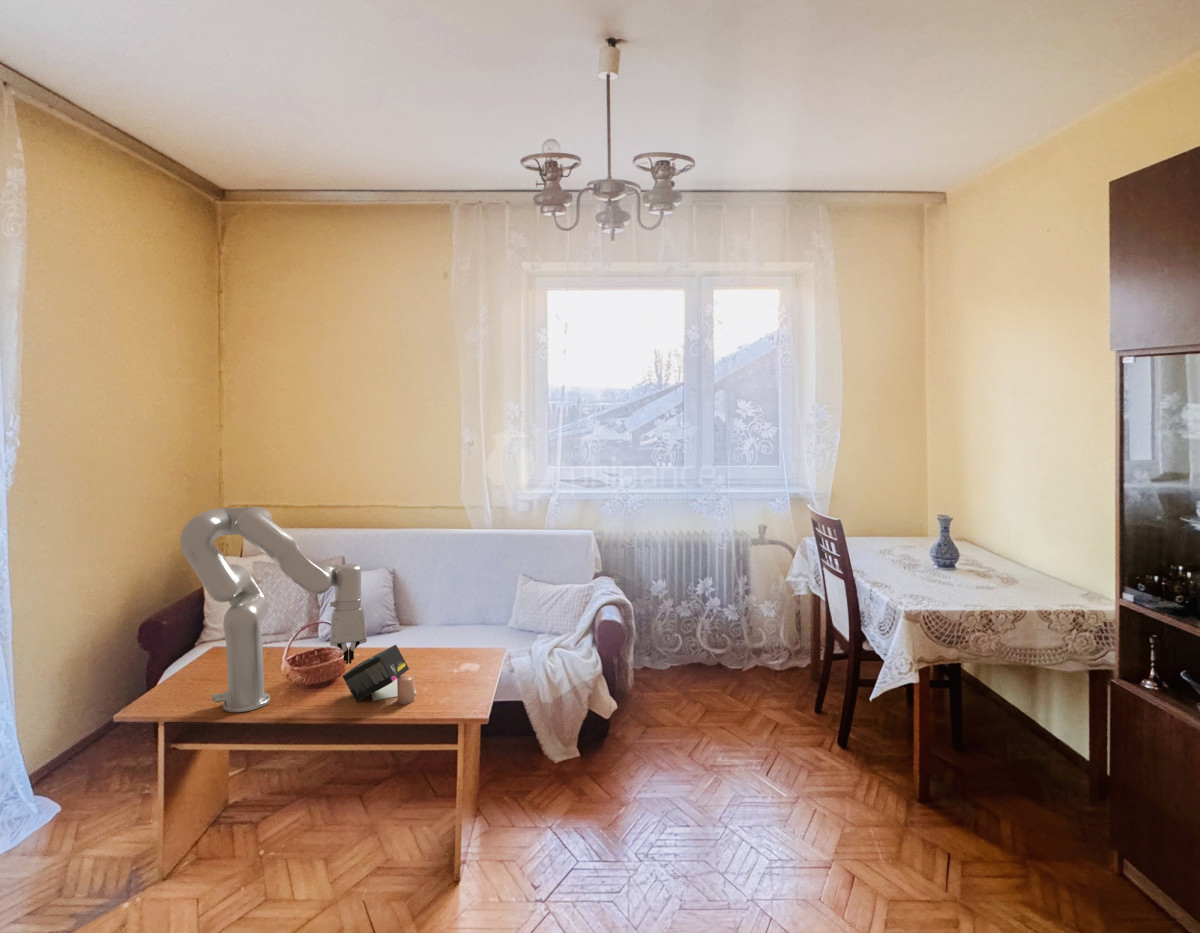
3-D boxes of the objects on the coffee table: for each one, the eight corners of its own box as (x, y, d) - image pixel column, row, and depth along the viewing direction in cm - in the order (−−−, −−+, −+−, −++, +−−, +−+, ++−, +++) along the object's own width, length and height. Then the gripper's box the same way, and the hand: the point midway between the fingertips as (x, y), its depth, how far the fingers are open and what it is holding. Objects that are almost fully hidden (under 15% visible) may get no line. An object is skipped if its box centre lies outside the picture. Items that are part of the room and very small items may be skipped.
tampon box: (355, 703, 199) (393, 683, 196) (340, 676, 200) (378, 656, 196) (374, 687, 210) (410, 669, 207) (360, 662, 210) (396, 643, 207)
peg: (398, 705, 198) (398, 682, 197) (396, 698, 202) (396, 676, 202) (415, 702, 199) (415, 680, 199) (413, 696, 204) (413, 674, 204)
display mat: (372, 700, 201) (372, 699, 201) (370, 682, 215) (370, 681, 215) (416, 694, 206) (416, 693, 206) (411, 676, 220) (411, 676, 220)
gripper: (322, 609, 198) (322, 669, 199) (374, 605, 203) (374, 663, 204) (322, 603, 205) (322, 661, 206) (373, 599, 210) (373, 655, 211)
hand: (348, 662), depth 205 cm, fingers closed
